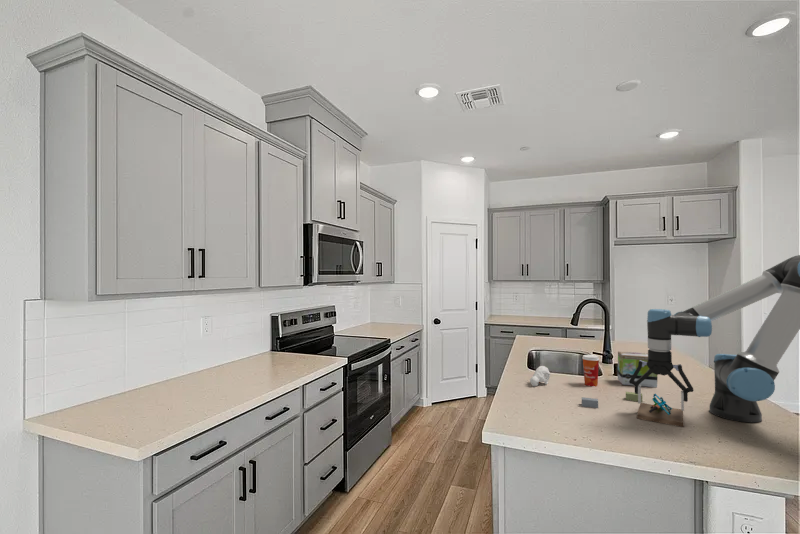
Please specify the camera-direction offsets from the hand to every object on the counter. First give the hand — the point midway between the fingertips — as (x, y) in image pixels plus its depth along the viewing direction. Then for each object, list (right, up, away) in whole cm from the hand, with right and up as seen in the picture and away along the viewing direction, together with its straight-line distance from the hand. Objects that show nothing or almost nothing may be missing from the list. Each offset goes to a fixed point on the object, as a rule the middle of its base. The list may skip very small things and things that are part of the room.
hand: (660, 406), depth 148 cm
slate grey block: (-21, -4, +12) cm, 25 cm away
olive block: (+1, -4, +19) cm, 19 cm away
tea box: (+17, -5, +43) cm, 47 cm away
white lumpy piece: (-31, -5, +42) cm, 53 cm away
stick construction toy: (-1, -3, +1) cm, 3 cm away
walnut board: (0, -4, 0) cm, 4 cm away
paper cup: (-6, -5, +41) cm, 42 cm away
